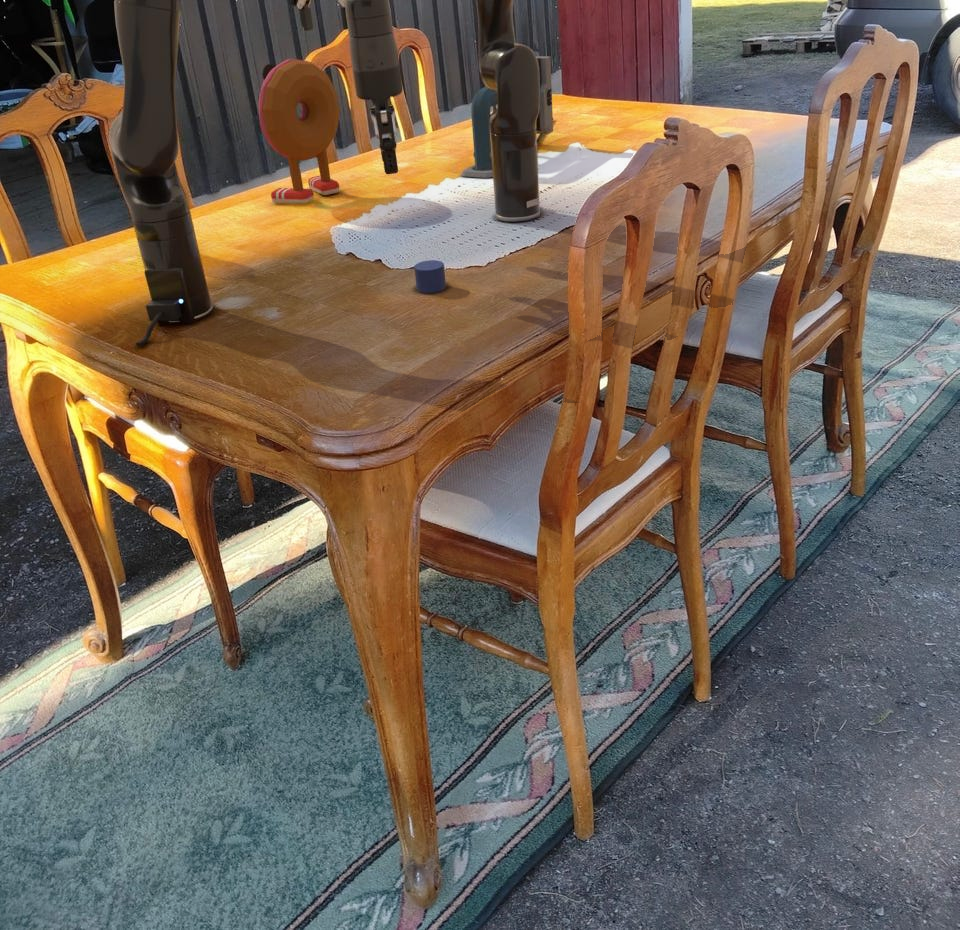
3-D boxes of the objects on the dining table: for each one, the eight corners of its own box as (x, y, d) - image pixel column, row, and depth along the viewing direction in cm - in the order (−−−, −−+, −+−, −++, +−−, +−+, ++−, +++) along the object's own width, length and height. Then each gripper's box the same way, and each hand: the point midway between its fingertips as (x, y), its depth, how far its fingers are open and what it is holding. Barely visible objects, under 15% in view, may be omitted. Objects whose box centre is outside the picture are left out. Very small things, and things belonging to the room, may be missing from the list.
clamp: (490, 178, 228) (484, 82, 217) (458, 176, 232) (450, 81, 221) (553, 143, 254) (550, 56, 243) (523, 142, 258) (519, 56, 247)
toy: (329, 182, 236) (308, 50, 220) (358, 186, 230) (339, 51, 215) (260, 205, 222) (234, 66, 207) (289, 210, 216) (264, 67, 201)
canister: (411, 288, 168) (408, 265, 166) (436, 280, 170) (434, 258, 168) (425, 295, 164) (423, 272, 162) (451, 288, 167) (449, 265, 165)
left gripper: (401, 68, 148) (415, 174, 157) (396, 55, 160) (409, 154, 169) (353, 74, 148) (369, 180, 156) (351, 61, 160) (366, 160, 168)
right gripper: (269, -65, 173) (285, 33, 181) (338, -70, 168) (351, 31, 176) (292, -68, 179) (306, 27, 187) (359, -73, 174) (371, 25, 182)
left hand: (390, 167), depth 163 cm, fingers open, 8 cm apart
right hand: (328, 29), depth 182 cm, fingers open, 8 cm apart
